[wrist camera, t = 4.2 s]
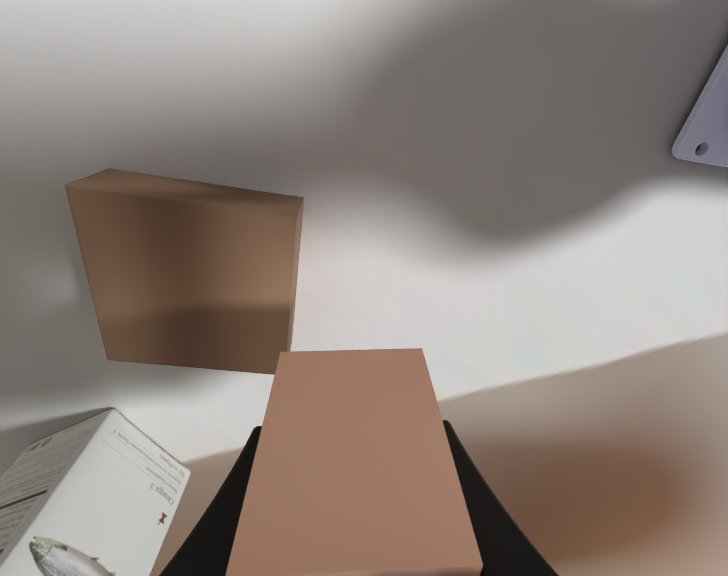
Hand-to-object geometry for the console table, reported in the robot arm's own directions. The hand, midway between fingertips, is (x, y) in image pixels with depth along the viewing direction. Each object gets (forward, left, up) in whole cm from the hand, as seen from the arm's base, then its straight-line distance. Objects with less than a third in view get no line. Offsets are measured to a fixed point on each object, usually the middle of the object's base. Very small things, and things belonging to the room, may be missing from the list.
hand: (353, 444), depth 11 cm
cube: (0, 0, -2) cm, 2 cm away
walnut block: (+7, -1, -9) cm, 11 cm away
